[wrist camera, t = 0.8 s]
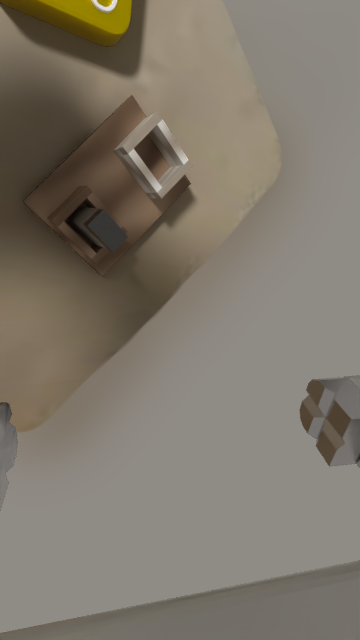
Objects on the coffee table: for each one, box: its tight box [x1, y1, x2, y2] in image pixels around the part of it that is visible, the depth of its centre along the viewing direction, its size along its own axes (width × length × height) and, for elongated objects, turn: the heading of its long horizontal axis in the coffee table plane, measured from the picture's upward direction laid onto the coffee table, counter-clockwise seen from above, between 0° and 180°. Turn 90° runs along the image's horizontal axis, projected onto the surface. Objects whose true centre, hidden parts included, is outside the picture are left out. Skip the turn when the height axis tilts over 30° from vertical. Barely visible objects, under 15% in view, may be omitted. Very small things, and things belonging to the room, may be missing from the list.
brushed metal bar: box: [67, 207, 128, 252], centre depth 40 cm, size 4×2×11 cm, turn 42°
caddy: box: [23, 96, 192, 276], centre depth 45 cm, size 14×20×6 cm
